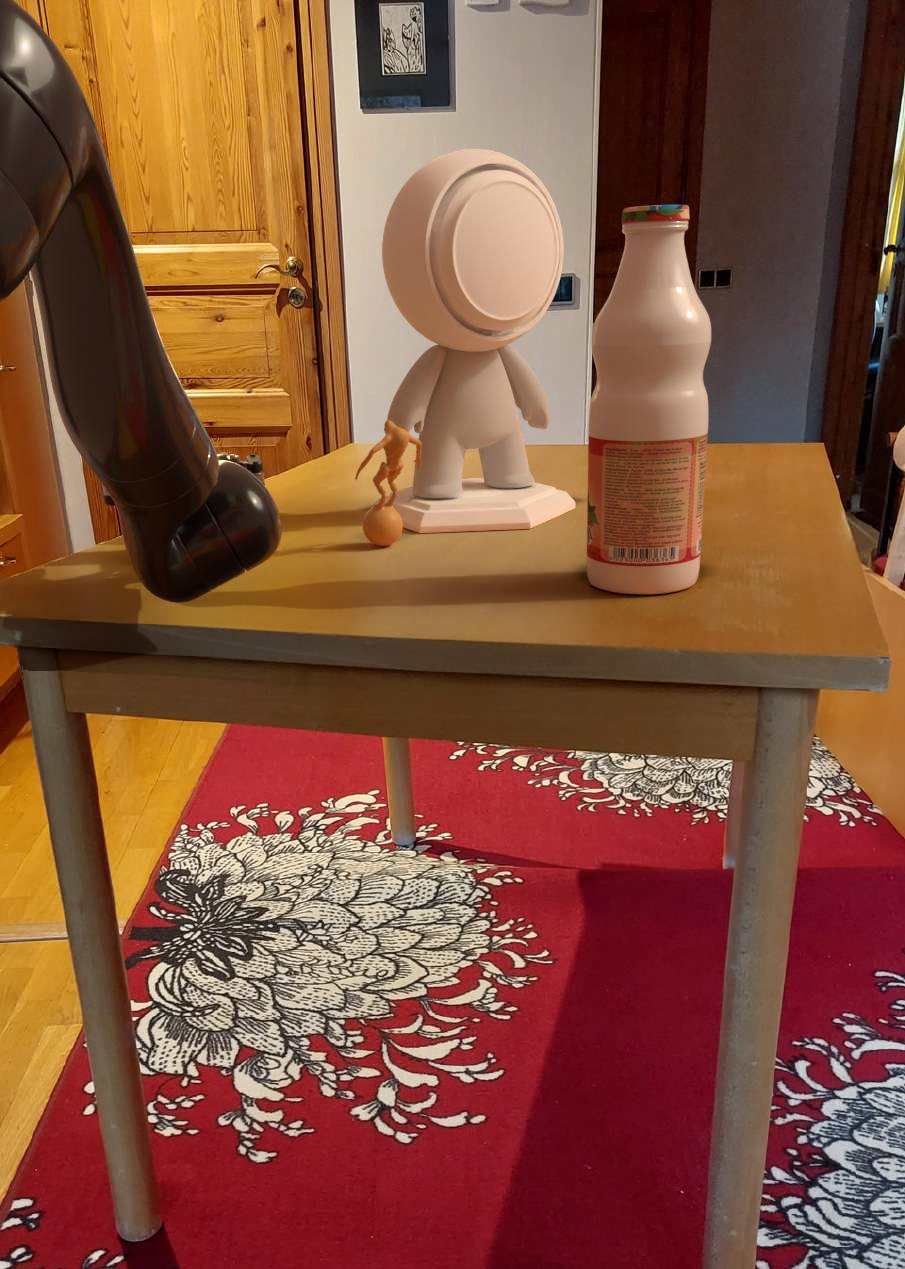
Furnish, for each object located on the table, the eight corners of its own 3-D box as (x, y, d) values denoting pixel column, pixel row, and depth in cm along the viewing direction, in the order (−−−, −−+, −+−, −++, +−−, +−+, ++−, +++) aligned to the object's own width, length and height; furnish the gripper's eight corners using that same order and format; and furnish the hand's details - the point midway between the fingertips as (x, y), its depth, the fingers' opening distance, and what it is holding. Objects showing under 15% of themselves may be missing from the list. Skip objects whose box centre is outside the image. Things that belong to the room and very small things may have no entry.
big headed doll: (447, 542, 110) (431, 134, 95) (348, 509, 128) (321, 162, 113) (607, 516, 119) (616, 139, 104) (493, 488, 137) (486, 163, 122)
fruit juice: (640, 603, 87) (655, 201, 75) (563, 581, 94) (565, 211, 82) (722, 582, 92) (749, 201, 80) (643, 563, 99) (656, 210, 87)
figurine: (400, 535, 114) (393, 413, 109) (441, 543, 110) (436, 416, 105) (339, 550, 109) (328, 422, 103) (379, 559, 105) (371, 426, 99)
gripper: (106, 549, 89) (107, 514, 104) (281, 533, 93) (259, 501, 107) (90, 453, 86) (93, 430, 100) (271, 440, 90) (250, 420, 104)
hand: (178, 467), depth 104 cm, fingers open, 8 cm apart
